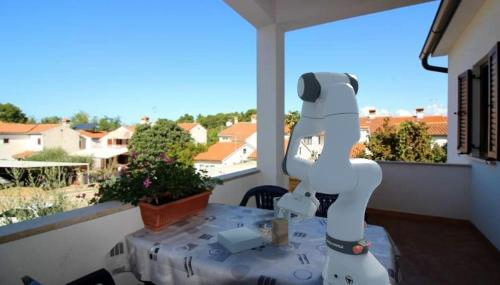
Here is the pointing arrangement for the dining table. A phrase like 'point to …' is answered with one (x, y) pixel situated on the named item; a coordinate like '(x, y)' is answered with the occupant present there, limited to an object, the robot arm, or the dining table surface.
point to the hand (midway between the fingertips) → (286, 220)
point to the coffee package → (293, 184)
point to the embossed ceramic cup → (276, 210)
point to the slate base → (239, 239)
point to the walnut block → (280, 231)
